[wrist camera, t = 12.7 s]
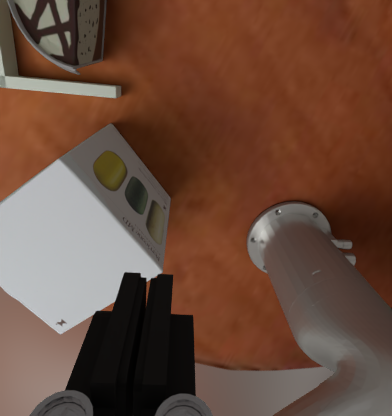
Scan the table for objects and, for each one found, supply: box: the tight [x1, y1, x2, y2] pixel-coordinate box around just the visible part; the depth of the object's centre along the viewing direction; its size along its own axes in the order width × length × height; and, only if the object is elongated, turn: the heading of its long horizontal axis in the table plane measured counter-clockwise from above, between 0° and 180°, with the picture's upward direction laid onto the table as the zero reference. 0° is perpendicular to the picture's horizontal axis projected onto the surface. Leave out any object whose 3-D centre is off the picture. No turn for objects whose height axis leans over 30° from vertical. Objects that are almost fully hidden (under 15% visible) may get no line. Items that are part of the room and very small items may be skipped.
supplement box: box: [0, 123, 171, 334], centre depth 33 cm, size 13×13×18 cm
